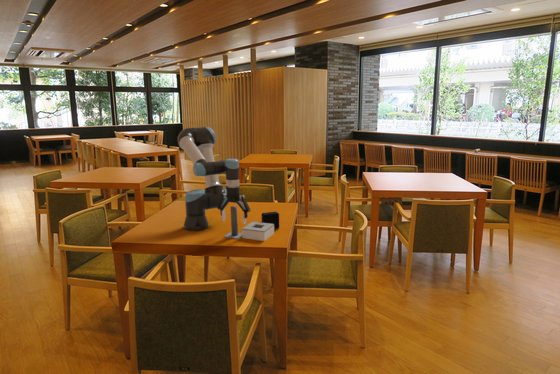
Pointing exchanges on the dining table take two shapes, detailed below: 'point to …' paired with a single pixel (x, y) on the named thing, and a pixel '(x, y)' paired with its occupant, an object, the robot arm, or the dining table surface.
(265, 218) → the electronic device
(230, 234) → the pad
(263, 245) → the dining table surface
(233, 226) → the stylus
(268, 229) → the box
